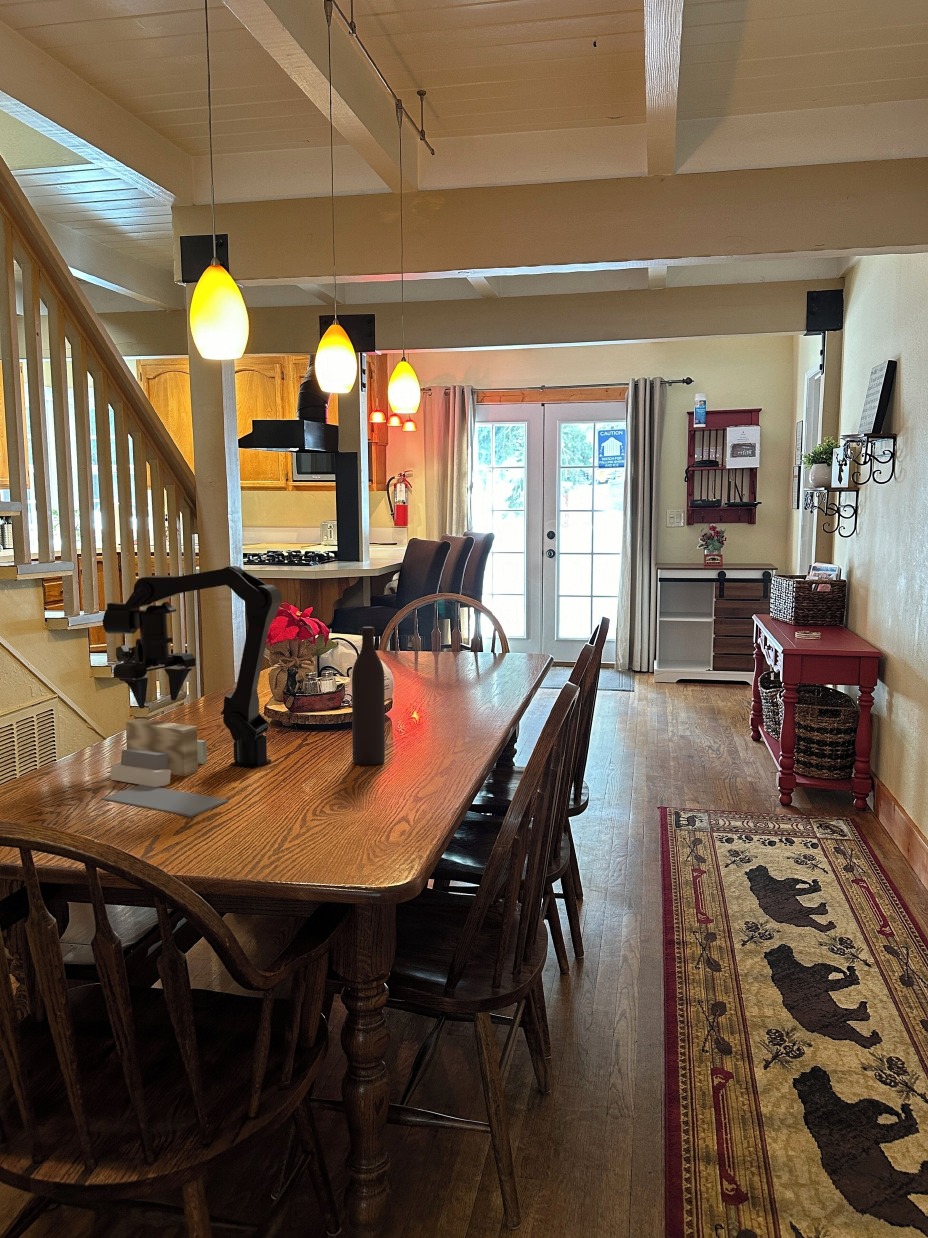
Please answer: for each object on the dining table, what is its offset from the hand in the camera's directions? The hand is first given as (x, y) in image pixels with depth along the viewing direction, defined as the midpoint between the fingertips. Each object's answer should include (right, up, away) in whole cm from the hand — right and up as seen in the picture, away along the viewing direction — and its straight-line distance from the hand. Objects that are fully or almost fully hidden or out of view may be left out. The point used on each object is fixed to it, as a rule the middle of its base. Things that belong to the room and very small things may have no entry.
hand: (157, 704), depth 203 cm
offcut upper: (+2, -11, -14) cm, 18 cm away
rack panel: (+5, -13, +1) cm, 14 cm away
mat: (+10, -16, -27) cm, 33 cm away
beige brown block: (+3, -14, -6) cm, 15 cm away
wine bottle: (+46, -13, +1) cm, 48 cm away
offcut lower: (+1, -14, -15) cm, 21 cm away
